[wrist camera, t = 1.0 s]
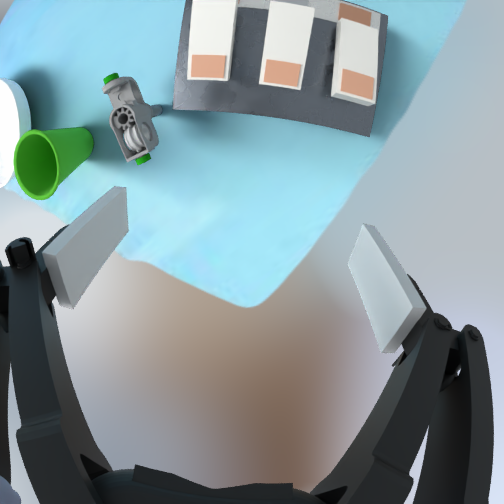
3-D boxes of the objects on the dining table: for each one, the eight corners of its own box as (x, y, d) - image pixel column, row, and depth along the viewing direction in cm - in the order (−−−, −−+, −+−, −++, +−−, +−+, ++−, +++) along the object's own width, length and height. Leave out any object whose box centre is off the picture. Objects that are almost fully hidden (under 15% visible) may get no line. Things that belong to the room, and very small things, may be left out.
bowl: (59, 142, 32) (35, 153, 26) (7, 192, 36) (-12, 206, 30) (28, 52, 22) (3, 53, 17) (-21, 116, 26) (-42, 124, 21)
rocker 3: (336, 24, 19) (341, 17, 17) (371, 35, 19) (378, 29, 18) (330, 96, 22) (336, 92, 21) (367, 106, 23) (375, 103, 21)
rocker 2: (270, 2, 17) (270, 0, 16) (312, 9, 17) (315, 7, 16) (259, 80, 24) (258, 84, 22) (298, 86, 24) (300, 90, 22)
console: (198, -4, 21) (186, -20, 16) (372, 23, 22) (392, 13, 17) (184, 107, 30) (169, 110, 25) (355, 130, 31) (373, 139, 26)
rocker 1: (197, -1, 17) (192, -3, 15) (238, 0, 17) (236, -3, 16) (191, 76, 23) (186, 79, 22) (229, 78, 23) (227, 81, 22)
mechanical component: (154, 72, 27) (117, 69, 19) (180, 140, 32) (152, 158, 24) (134, 82, 28) (94, 84, 19) (160, 148, 33) (128, 169, 25)
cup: (111, 163, 34) (68, 192, 25) (68, 177, 35) (25, 206, 26) (98, 106, 29) (48, 118, 20) (55, 125, 30) (6, 144, 21)
